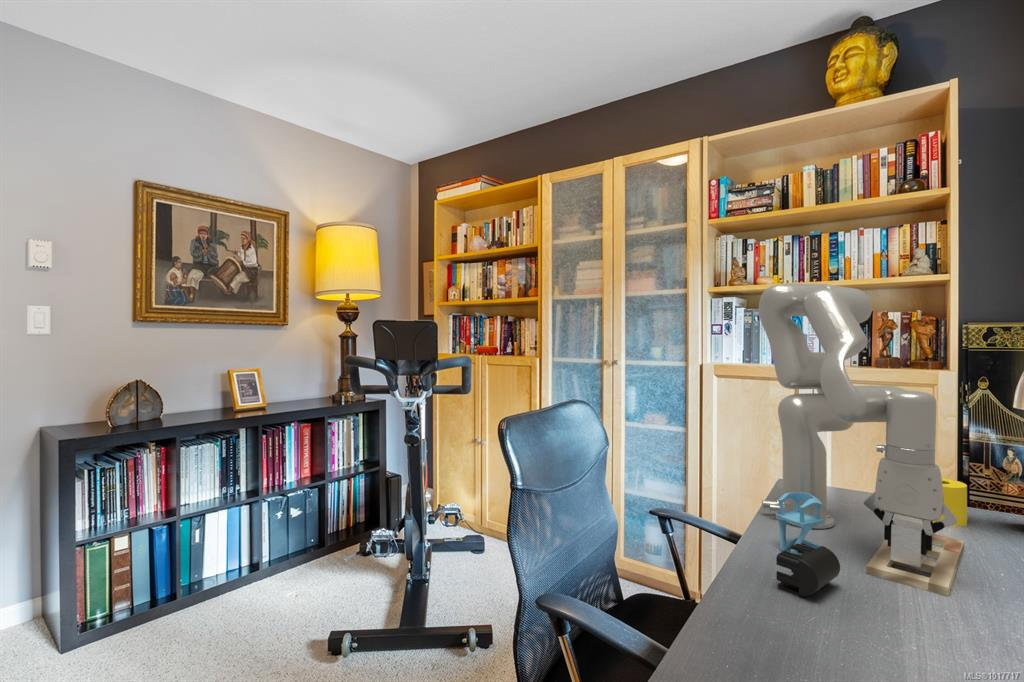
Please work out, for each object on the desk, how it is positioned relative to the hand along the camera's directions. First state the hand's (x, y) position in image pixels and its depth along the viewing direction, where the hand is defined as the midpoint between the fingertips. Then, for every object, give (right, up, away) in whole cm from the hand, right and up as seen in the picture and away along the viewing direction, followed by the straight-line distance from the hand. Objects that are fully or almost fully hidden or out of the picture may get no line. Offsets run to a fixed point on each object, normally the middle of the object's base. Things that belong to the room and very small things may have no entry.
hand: (907, 547), depth 97 cm
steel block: (0, -2, 0) cm, 2 cm away
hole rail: (+7, -5, +6) cm, 10 cm away
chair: (-15, -5, +11) cm, 19 cm away
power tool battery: (-23, -5, -6) cm, 24 cm away
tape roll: (+31, -5, +29) cm, 42 cm away
